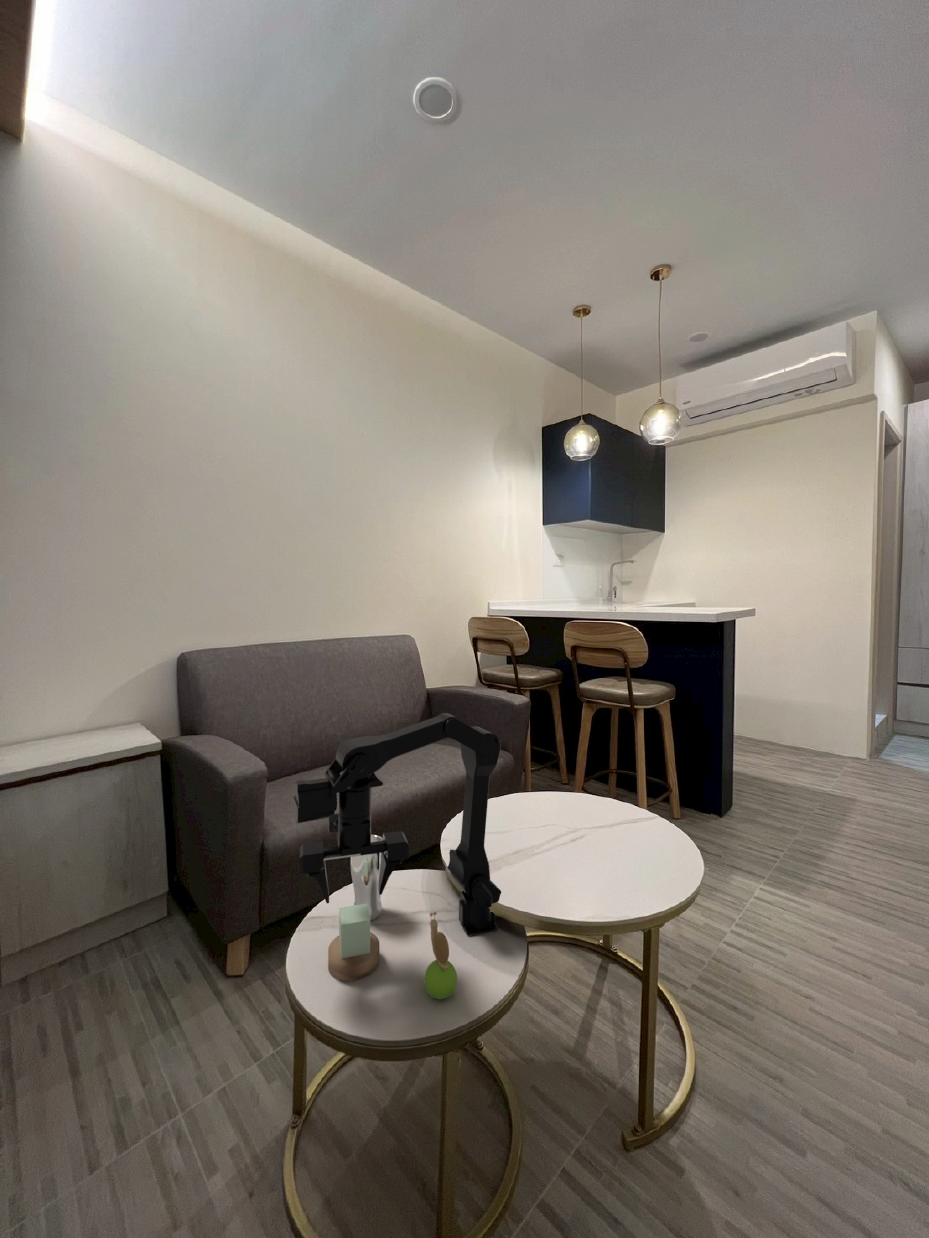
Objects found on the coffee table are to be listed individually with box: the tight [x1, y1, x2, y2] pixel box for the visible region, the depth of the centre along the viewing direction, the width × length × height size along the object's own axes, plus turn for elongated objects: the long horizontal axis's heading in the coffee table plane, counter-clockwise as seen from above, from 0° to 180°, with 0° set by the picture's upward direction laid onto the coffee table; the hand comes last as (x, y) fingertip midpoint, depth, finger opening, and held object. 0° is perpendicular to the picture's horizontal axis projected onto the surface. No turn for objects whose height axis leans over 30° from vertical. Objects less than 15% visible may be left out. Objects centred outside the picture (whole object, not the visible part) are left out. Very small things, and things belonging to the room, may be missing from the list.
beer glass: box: [350, 834, 383, 922], centre depth 104 cm, size 7×7×15 cm
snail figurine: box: [423, 911, 458, 1000], centre depth 83 cm, size 5×6×12 cm
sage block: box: [338, 903, 371, 959], centre depth 90 cm, size 5×5×6 cm
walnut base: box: [327, 931, 380, 983], centre depth 90 cm, size 9×9×3 cm
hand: (354, 897), depth 90 cm, fingers open, 9 cm apart
